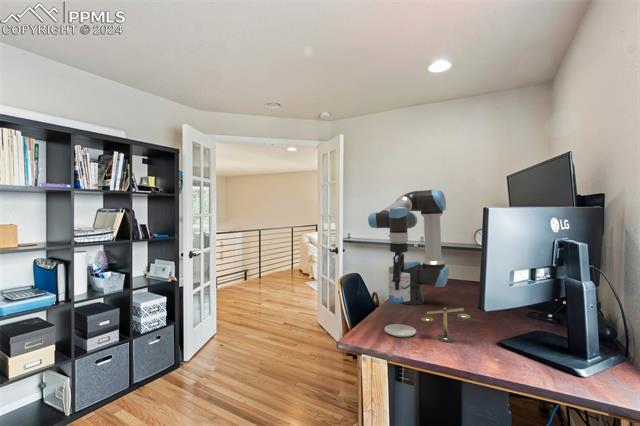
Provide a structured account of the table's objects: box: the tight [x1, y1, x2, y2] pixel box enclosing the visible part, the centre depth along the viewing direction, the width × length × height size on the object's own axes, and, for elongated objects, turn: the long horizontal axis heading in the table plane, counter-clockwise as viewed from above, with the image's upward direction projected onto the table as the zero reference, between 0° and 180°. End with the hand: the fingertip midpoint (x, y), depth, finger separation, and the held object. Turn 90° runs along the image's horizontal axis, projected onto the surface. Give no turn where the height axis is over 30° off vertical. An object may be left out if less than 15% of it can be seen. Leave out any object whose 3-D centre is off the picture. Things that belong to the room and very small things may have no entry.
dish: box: [384, 323, 417, 338], centre depth 129 cm, size 13×13×1 cm
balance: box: [421, 306, 471, 343], centre depth 121 cm, size 6×18×13 cm, turn 66°
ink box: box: [387, 266, 410, 304], centre depth 129 cm, size 8×5×15 cm, turn 123°
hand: (399, 294), depth 129 cm, fingers closed on ink box, 9 cm apart
